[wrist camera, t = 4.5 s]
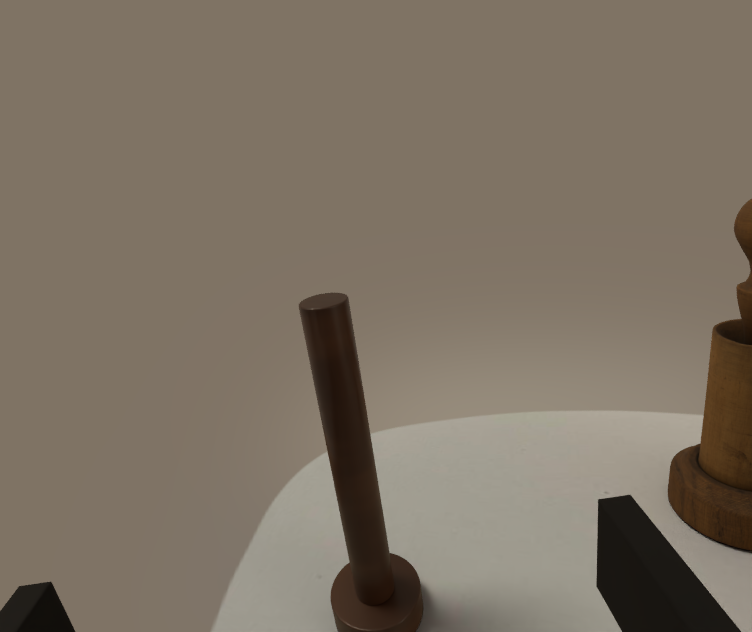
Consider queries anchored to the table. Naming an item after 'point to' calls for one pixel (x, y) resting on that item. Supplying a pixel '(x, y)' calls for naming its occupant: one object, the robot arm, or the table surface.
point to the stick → (356, 480)
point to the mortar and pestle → (723, 428)
